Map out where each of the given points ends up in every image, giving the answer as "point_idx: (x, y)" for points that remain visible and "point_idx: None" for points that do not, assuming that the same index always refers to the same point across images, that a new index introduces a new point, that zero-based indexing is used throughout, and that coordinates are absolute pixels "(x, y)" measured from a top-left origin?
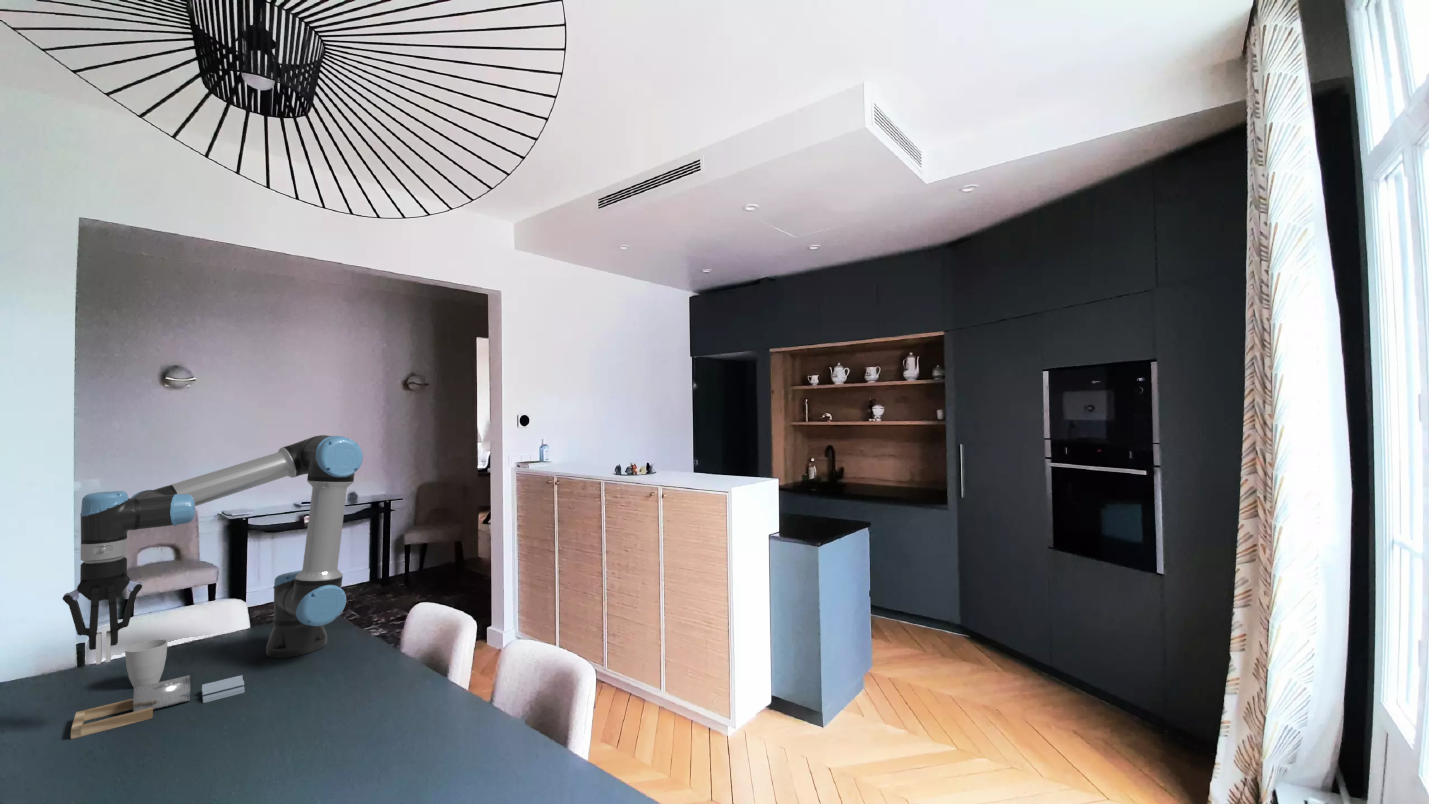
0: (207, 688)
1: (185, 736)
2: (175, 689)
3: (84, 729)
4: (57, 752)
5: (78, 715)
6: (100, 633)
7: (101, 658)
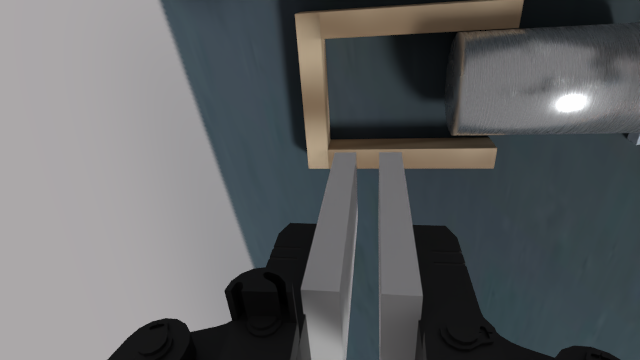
0: None
1: (522, 309)
2: (586, 133)
3: None
4: (300, 212)
5: (307, 57)
6: (334, 332)
7: (355, 164)
